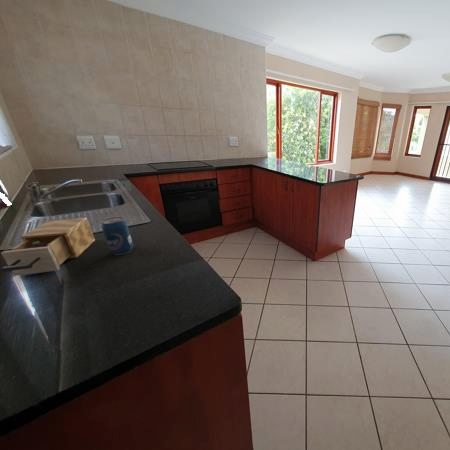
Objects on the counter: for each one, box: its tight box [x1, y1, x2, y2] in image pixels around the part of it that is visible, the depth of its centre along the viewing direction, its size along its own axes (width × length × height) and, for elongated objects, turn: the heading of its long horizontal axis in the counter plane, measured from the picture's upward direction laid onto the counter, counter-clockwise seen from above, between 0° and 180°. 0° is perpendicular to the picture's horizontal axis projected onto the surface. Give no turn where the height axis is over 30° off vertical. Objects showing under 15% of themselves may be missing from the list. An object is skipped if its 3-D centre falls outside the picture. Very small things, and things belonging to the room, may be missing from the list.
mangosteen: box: [29, 241, 48, 248], centre depth 73 cm, size 5×5×7 cm
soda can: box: [101, 216, 134, 256], centre depth 82 cm, size 7×7×12 cm
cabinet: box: [20, 217, 96, 260], centre depth 83 cm, size 14×12×10 cm
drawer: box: [0, 235, 72, 277], centre depth 72 cm, size 18×10×8 cm, turn 18°
